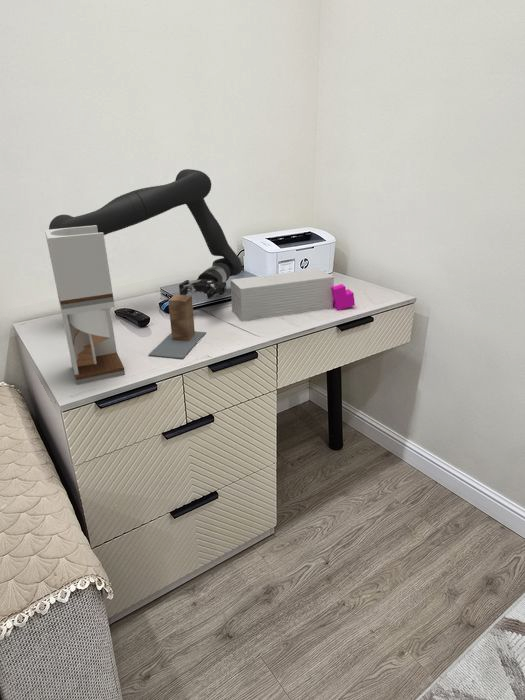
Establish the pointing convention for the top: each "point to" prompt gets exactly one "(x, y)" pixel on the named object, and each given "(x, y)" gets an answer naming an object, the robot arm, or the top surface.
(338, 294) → the toy block
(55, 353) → the top surface
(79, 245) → the white open-top tower
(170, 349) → the rubber mat
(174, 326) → the walnut block
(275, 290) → the long grey block
